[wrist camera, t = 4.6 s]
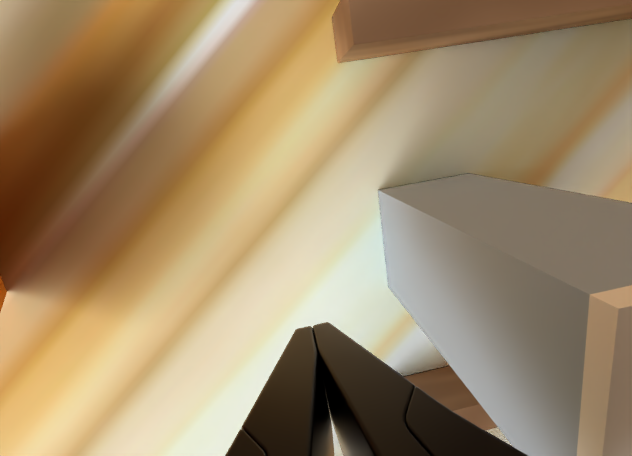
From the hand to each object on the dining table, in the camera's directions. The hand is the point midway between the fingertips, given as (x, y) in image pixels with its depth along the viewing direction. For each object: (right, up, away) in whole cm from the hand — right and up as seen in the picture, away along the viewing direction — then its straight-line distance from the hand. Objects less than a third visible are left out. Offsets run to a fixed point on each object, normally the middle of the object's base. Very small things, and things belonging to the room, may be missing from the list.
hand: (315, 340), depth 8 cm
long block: (+5, +3, +6) cm, 8 cm away
